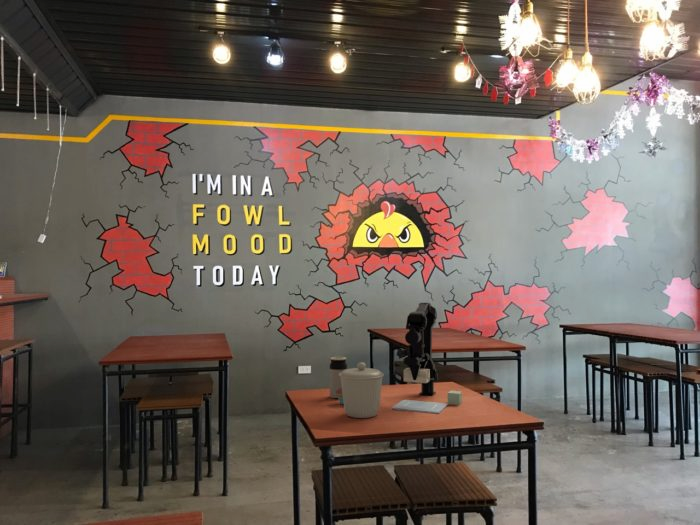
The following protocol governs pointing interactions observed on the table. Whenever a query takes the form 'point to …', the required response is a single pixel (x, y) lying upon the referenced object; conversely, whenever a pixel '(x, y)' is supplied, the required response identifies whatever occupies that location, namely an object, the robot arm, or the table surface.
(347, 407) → the canister
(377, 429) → the table surface
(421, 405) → the board
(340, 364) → the travel mug
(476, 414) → the table surface
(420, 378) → the birch brick
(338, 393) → the cupcake
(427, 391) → the robot arm
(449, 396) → the sage cube
